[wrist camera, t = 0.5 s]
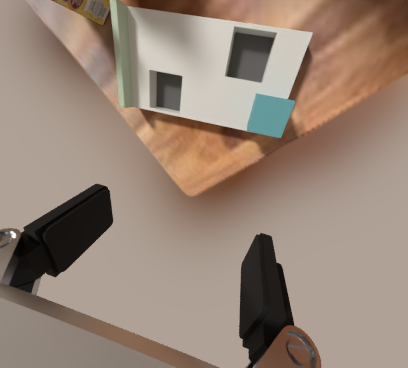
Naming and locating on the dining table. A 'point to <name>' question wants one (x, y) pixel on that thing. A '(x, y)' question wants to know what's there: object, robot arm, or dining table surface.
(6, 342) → the robot arm
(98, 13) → the candy box
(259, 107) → the block
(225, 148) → the dining table surface
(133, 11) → the white board with holes
